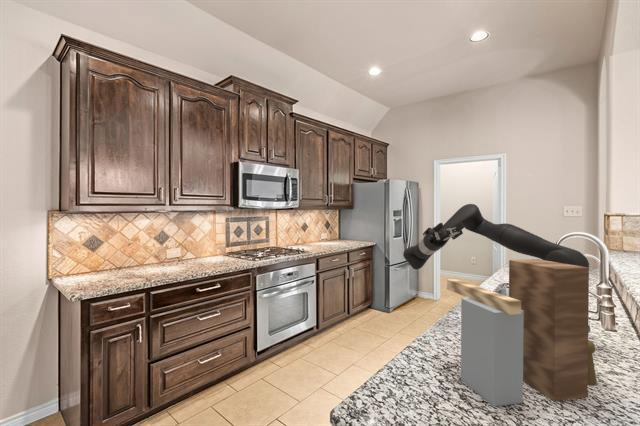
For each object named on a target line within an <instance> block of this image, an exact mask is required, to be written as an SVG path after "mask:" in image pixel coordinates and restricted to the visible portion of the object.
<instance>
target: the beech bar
mask: <svg viewBox="0 0 640 426" xmlns="http://www.w3.org/2000/svg"><path fill="white" fill-rule="evenodd" d="M446 290H448V291H450V292H453V293H455V294H458V295H460V296H463V297H464V298H470V299H472V300H475V301H477V302H480V303H482V304H485V305H487V306H490V307H492V308H495V309H497V310H500V311H502V312H505V313H507V314H510V315H512V314H521V301H520V300H517V299H514V298H511V297H509V295H508V296H507V295H505V294H502V293H498V292H495V291H492V290H489V289H487V288H483V287H481V286H477V285H474V284H472V283H469V282H465V281H462V280H460V279H456V278H453V279H452V278H451V279H450V278H449V279H446Z"/></svg>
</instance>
